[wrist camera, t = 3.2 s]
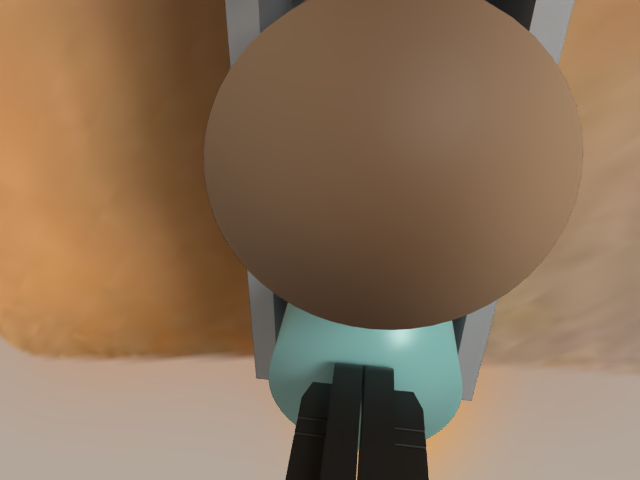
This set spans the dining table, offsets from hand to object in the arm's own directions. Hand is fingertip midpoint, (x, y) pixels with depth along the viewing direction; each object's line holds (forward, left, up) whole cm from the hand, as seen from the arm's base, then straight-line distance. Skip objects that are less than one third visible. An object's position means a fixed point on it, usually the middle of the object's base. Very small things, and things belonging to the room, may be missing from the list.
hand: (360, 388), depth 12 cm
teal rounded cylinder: (0, 0, -7) cm, 7 cm away
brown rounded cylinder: (0, -7, -4) cm, 8 cm away
